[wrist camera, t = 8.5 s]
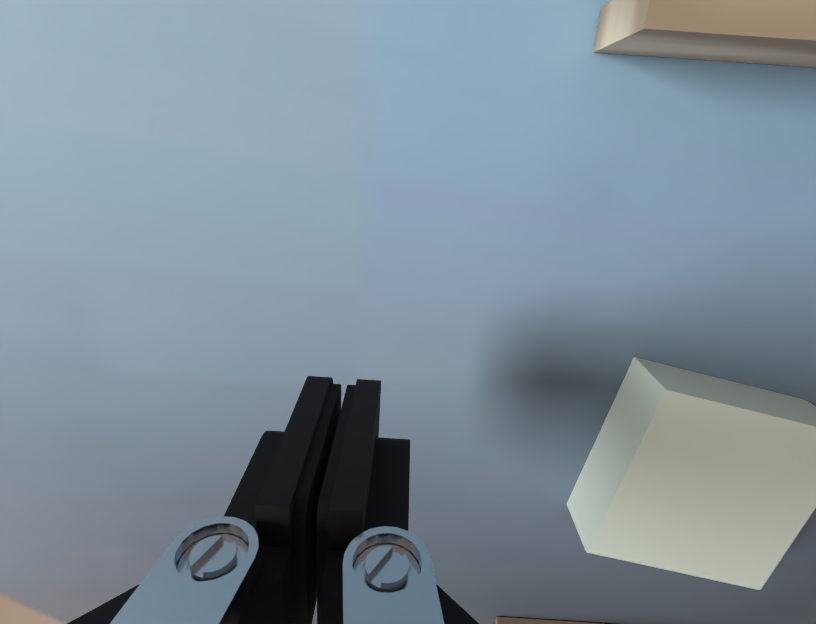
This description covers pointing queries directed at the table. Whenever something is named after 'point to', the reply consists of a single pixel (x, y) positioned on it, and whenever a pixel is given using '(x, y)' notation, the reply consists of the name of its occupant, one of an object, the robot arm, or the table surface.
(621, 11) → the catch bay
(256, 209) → the table surface
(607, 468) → the sage tile
